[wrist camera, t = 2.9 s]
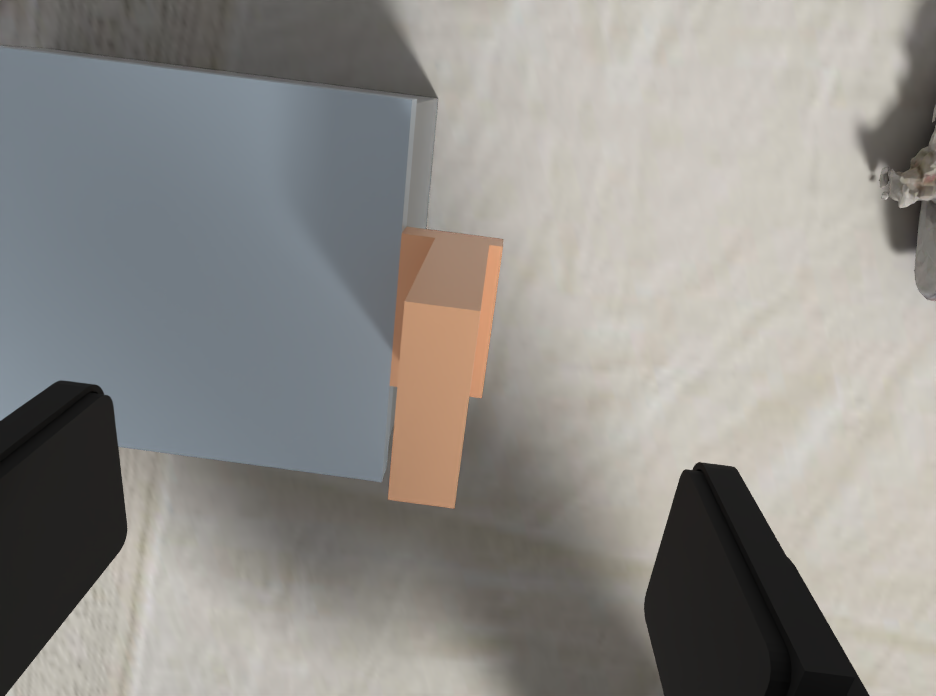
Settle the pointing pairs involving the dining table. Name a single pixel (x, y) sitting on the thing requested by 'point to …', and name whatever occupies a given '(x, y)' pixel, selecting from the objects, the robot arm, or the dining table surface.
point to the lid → (236, 270)
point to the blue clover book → (932, 183)
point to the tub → (424, 108)
